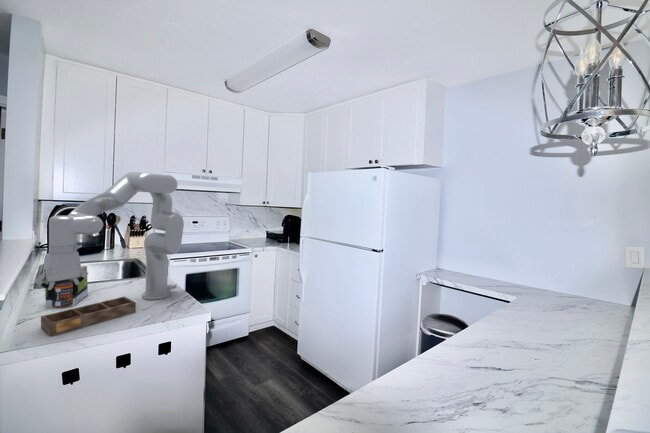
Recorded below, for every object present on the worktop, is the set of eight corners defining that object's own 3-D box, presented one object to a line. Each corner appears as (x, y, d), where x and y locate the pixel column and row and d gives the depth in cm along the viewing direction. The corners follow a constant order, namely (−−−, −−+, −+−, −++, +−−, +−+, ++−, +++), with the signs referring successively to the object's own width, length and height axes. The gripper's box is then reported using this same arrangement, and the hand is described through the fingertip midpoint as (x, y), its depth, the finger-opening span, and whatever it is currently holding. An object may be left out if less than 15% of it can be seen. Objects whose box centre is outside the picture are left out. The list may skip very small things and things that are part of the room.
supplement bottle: (60, 310, 108) (60, 279, 108) (47, 307, 110) (47, 277, 109) (77, 304, 114) (77, 275, 113) (64, 302, 115) (64, 273, 115)
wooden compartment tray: (124, 306, 135) (124, 296, 134) (135, 312, 129) (136, 302, 129) (41, 328, 111) (40, 316, 111) (51, 337, 106) (51, 324, 105)
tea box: (62, 296, 142) (62, 265, 140) (88, 295, 145) (88, 265, 143) (44, 308, 127) (44, 274, 126) (73, 307, 130) (73, 274, 129)
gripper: (86, 245, 120) (86, 289, 121) (27, 250, 105) (27, 300, 106) (95, 248, 116) (94, 293, 117) (34, 254, 101) (34, 306, 102)
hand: (62, 296), depth 112 cm, fingers closed on supplement bottle, 6 cm apart
